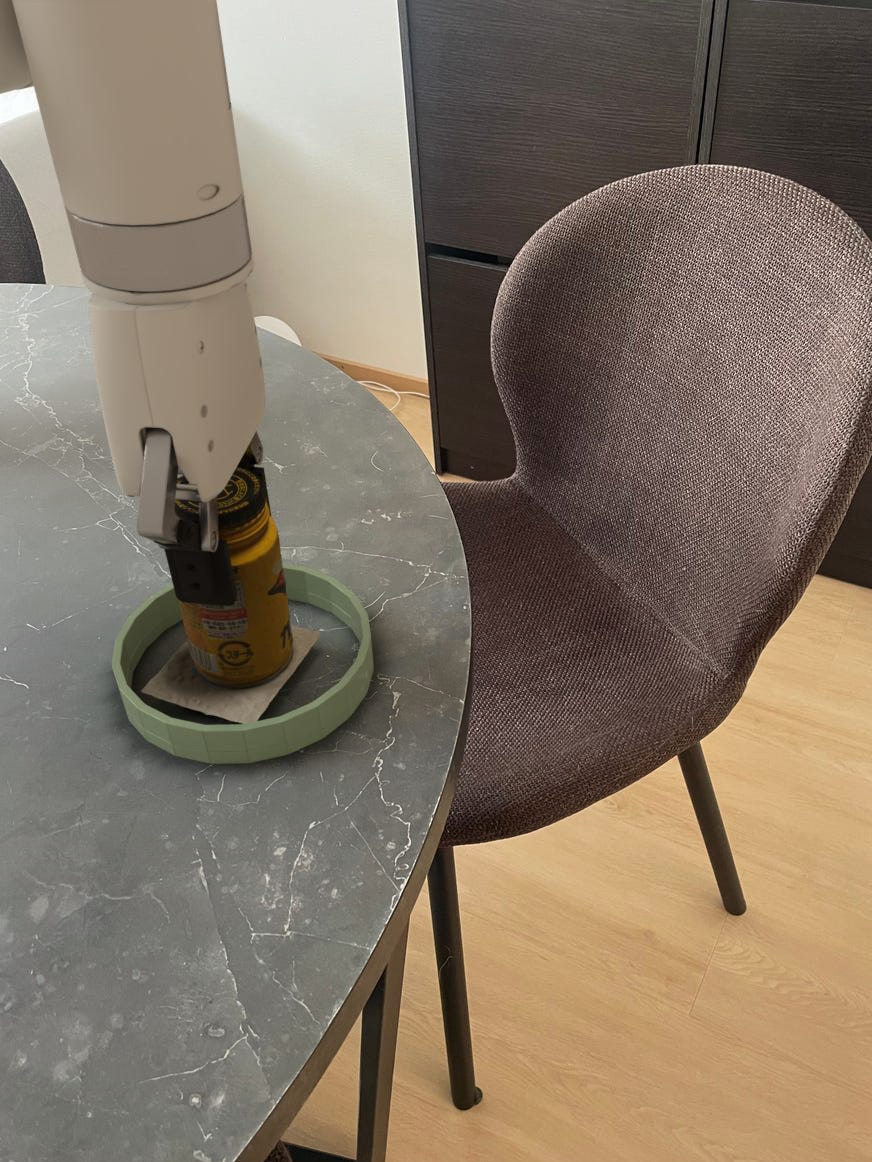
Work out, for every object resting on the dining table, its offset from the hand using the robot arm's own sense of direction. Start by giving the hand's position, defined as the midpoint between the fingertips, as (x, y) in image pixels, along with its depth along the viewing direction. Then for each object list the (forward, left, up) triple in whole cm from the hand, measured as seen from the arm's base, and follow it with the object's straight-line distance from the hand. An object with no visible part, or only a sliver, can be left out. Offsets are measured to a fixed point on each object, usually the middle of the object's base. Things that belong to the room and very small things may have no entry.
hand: (226, 559), depth 58 cm
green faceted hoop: (0, 0, -10) cm, 10 cm away
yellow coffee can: (0, -1, -7) cm, 8 cm away
